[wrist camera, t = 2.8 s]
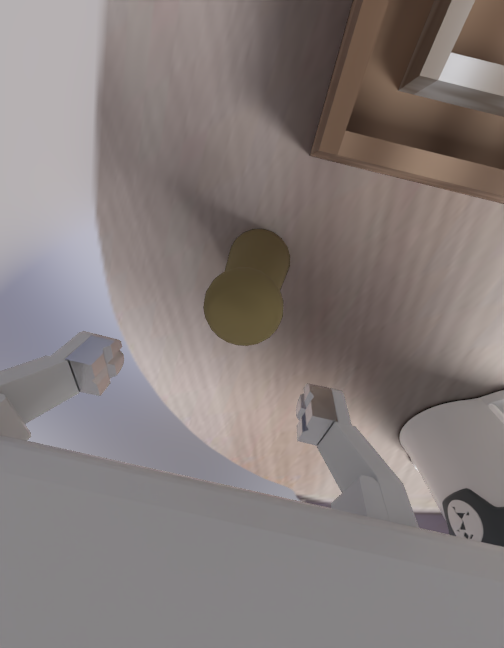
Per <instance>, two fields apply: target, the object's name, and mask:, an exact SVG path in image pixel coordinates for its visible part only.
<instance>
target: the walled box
mask: <svg viewBox="0 0 504 648" xmlns="http://www.w3.org/2000/svg"><path fill="white" fill-rule="evenodd" d="M310 156H313V157H317V158H321V159H325V160H329V161H333V162H337V163H341V164H345V165H349V166H353V167H357V168H361V169H365V170H369V171H373V172H377V173H381V174H385V175H390V176H394V177H398V178H402V179H406V180H410V181H414V182H418V183H422V184H426V185H430V186H434V187H438V188H442V189H446V190H450V191H454V192H458V193H462V194H466V195H470V196H474V197H478V198H482V199H487V200H491V201H495V202H499V203H503V204H504V0H353V3H352V6H351V10H350V13H349V17H348V21H347V24H346V28H345V31H344V35H343V38H342V42H341V46H340V49H339V53H338V56H337V60H336V63H335V67H334V71H333V74H332V78H331V81H330V85H329V88H328V92H327V96H326V99H325V103H324V106H323V110H322V114H321V117H320V121H319V124H318V128H317V131H316V135H315V139H314V142H313V146H312V149H311V153H310Z"/></svg>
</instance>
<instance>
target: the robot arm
mask: <svg viewBox="0 0 504 648" xmlns="http://www.w3.org/2000/svg"><path fill="white" fill-rule="evenodd" d="M121 347H122V344H121V341H120V340H117V339H113V338H110V337H106V336H102V335H97V334H93V333H89V332H85V331H83V332H80V333H78V334H77V335H76V336H75V337H73V338H72V339H71V340H70V341H69V342H67V343H66V344H65V345H64V346H62V347H61V348H60V349H59V350H57V351H56V352H55V353H54V354H53V355H51V356H44V357H41V358H38V359H35V360H32V361H29V362H26V363H23V364H20V365H17V366H15V367H11V368H8V369H5V370H2V371H0V648H504V390H502V391H498V392H495V393H492V394H489V395H486V396H483V397H480V398H476V399H470V400H462V401H455V402H450V403H445V404H442V405H438V406H435V407H432V408H430V409H427V410H425V411H423V412H421V413H419V414H417V415H416V416H414V417H413V418H412V419H410V420H409V421H408V422H407V423H406V424H405V425H404V426H403V428H402V430H401V432H400V436H399V439H400V443H401V445H402V446H403V448H404V449H405V451H406V452H407V453H408V455H409V456H410V458H411V462H412V464H413V466H414V468H415V469H416V470H418V471H419V473H420V474H421V476H422V478H423V480H424V482H425V484H426V485H427V487H428V489H429V491H430V493H431V495H432V496H433V498H434V500H435V502H436V504H437V506H438V507H439V509H440V511H441V513H442V515H443V516H444V518H445V519H446V521H447V525H448V529H449V534H450V535H448V534H443V533H439V532H434V531H430V530H425V529H421V528H419V527H418V524H417V521H416V518H415V515H414V513H413V510H412V507H411V504H410V502H409V499H408V496H407V493H406V490H405V488H404V485H403V483H402V482H401V481H400V479H399V478H398V477H397V476H396V475H395V473H394V472H393V471H392V470H391V469H390V467H389V466H388V465H387V464H386V463H385V461H384V460H383V459H382V458H381V457H380V455H379V454H378V453H377V452H376V451H375V449H374V448H373V447H372V446H371V445H370V443H369V442H368V441H367V440H366V439H365V437H364V436H363V435H362V434H361V433H360V431H359V430H358V429H357V428H356V427H355V426H352V424H351V420H350V417H349V413H348V409H347V405H346V401H345V397H344V393H343V392H342V391H341V390H336V389H332V388H327V387H323V386H318V385H314V384H309V383H307V384H306V385H305V387H304V394H301V395H300V397H299V399H298V402H297V408H296V416H297V418H298V419H299V423H298V424H297V441H300V442H304V443H308V444H312V445H316V446H317V448H318V450H319V452H320V453H321V455H322V457H323V459H324V461H325V463H326V464H327V466H328V468H329V470H330V472H331V473H332V475H333V477H334V479H335V481H336V483H337V484H338V486H339V488H340V490H341V492H342V494H341V495H339V496H338V497H337V498H336V499H335V500H334V501H333V502H332V503H331V507H332V509H331V508H327V507H322V506H318V505H313V504H309V503H304V502H300V501H295V500H290V499H286V498H282V497H277V496H272V495H269V494H264V493H259V492H255V491H251V490H246V489H242V488H237V487H232V486H228V485H224V484H219V483H215V482H210V481H206V480H201V479H197V478H192V477H188V476H183V475H179V474H174V473H170V472H165V471H161V470H156V469H151V468H147V467H142V466H138V465H134V464H129V463H125V462H120V461H115V460H111V459H107V458H102V457H97V456H93V455H89V454H84V453H80V452H75V451H71V450H66V449H61V448H57V447H52V446H48V445H43V444H39V443H35V442H30V441H27V440H28V439H29V438H30V437H31V433H30V431H29V430H28V428H27V427H26V425H25V424H26V423H28V422H29V421H31V420H33V419H35V418H36V417H38V416H40V415H42V414H43V413H45V412H47V411H49V410H50V409H52V408H54V407H56V406H57V405H59V404H61V403H62V402H64V401H66V400H68V399H70V398H71V397H73V396H75V395H77V394H78V393H79V392H83V393H88V394H93V395H98V396H100V395H101V394H102V393H103V392H104V391H105V389H106V388H107V387H108V385H109V384H110V378H112V377H114V376H116V375H117V374H118V373H119V371H120V370H121V368H122V366H123V363H124V355H123V353H122V352H121V351H120V348H121Z"/></svg>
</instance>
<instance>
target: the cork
mask: <svg viewBox="0 0 504 648" xmlns="http://www.w3.org/2000/svg"><path fill="white" fill-rule="evenodd" d="M289 266H290V255H289V251H288V247H287V246H286V244H285V243H284V241H283V240H282V238H280V237H279V236H278V235H276V234H275V233H274V232H271V231H268V230H265V229H252V230H250V231H247V232H244V233H243V234H241V235H240V236H239V237H238V238H237V239H236V240H235V241H234V243H233V245H232V246H231V249H230V253H229V257H228V260H227V264H226V268H225V272H223V273H222V274H220V275H219V276H218V277H217V278H215V279H214V280H213V282H212V283H211V285H210V286H209V288H208V290H207V291H206V295H205V300H204V306H203V308H204V314H205V318H206V320H207V322H208V324H209V326H210V328H211V329H212V331H213V332H214V333H215V334H216V335H217V336H218V337H220V338H221V339H223V340H225V341H226V342H229V343H232V344H235V345H243V346H249V345H254V344H258V343H260V342H262V341H264V340H266V339H267V338H269V337H270V336H271V335H272V334H273V333H274V332H275V331H276V330H277V328H278V326H279V324H280V322H281V319H282V317H283V299H282V296H281V293H280V289H281V287H282V284H283V282H284V279H285V277H286V274H287V271H288V269H289Z"/></svg>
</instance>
